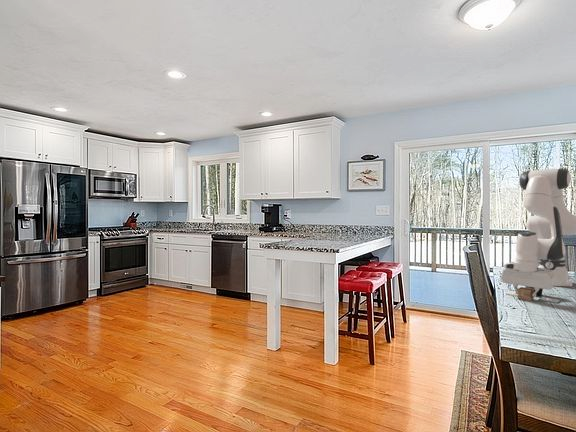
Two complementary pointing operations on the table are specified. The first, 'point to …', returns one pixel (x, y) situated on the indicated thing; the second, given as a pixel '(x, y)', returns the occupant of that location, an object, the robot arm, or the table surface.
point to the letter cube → (525, 293)
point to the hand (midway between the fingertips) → (525, 295)
